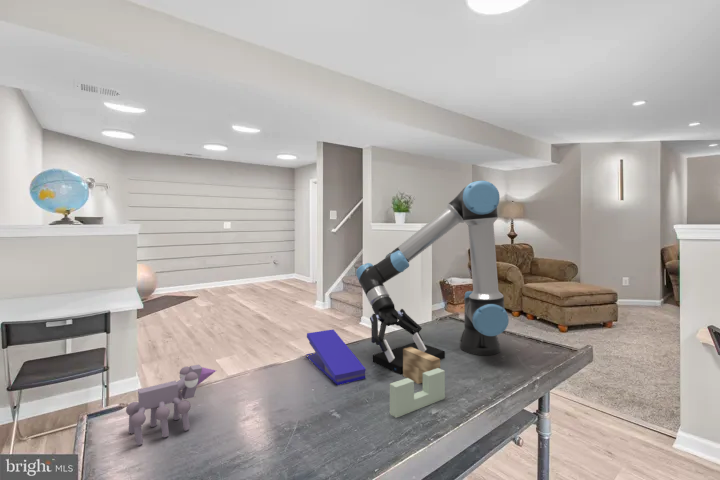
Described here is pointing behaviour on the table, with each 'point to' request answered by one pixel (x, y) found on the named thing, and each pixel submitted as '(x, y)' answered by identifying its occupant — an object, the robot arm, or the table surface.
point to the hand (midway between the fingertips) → (408, 355)
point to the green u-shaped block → (408, 401)
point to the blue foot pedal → (334, 357)
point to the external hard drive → (398, 354)
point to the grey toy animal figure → (166, 401)
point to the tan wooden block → (418, 364)
